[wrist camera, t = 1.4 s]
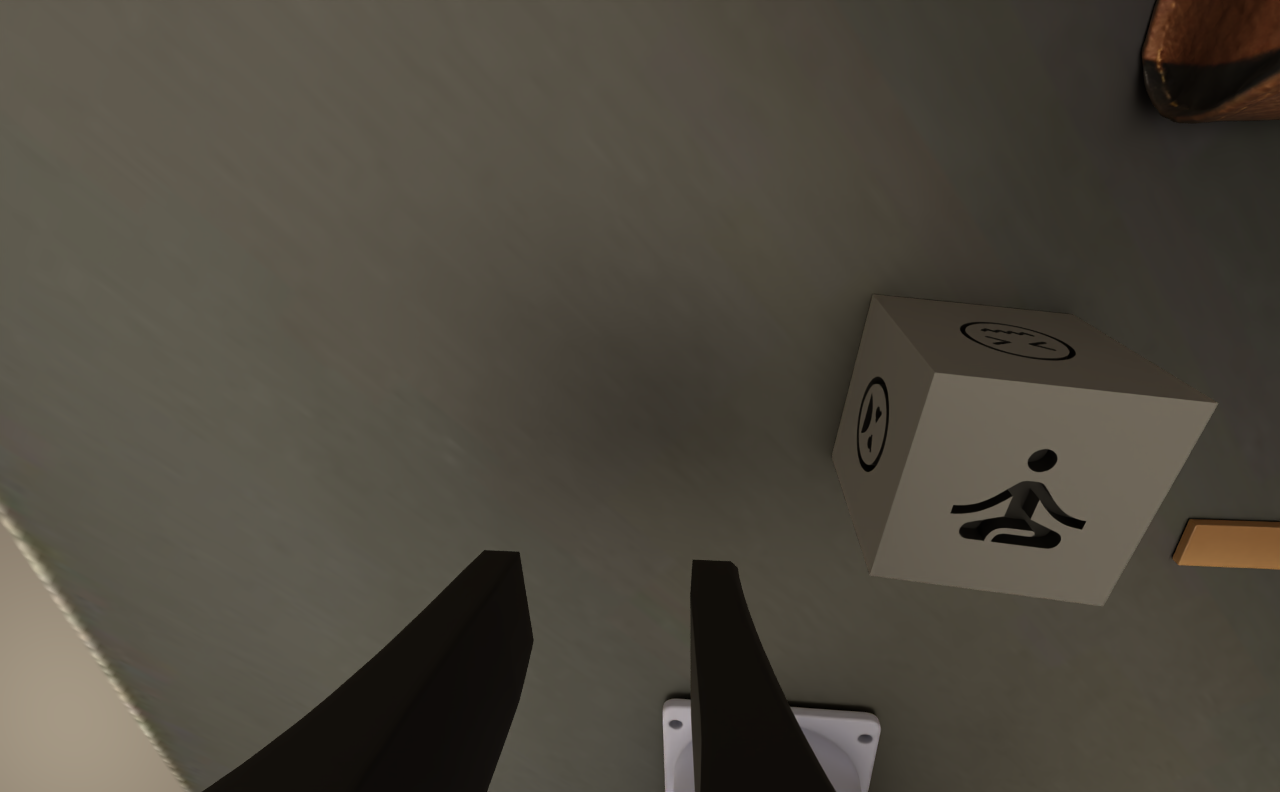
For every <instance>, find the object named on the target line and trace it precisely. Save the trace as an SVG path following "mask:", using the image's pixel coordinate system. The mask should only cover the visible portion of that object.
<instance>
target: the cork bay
mask: <svg viewBox="0 0 1280 792" xmlns="http://www.w3.org/2000/svg"><path fill="white" fill-rule="evenodd" d="M1172 559H1173V560H1174V561H1175V562H1176V563H1177V564H1178V565H1189V566H1213V567H1236V568H1260V569H1280V522H1263V521H1234V520H1204V519H1190V520H1189V522H1188V524H1187V526H1186V528H1185V531H1184V533H1183V535H1182V537H1181V540H1180V542H1179V544H1178V546H1177V549H1176V551H1175V553H1174V555H1173V558H1172Z"/></svg>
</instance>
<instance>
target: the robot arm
mask: <svg viewBox="0 0 1280 792" xmlns="http://www.w3.org/2000/svg"><path fill="white" fill-rule="evenodd" d="M690 609H691V700H690V699H670V700H667V701H666V702H665V703H664V706H663V740H664V770H665V792H868V789H869V785H870V780H871V775H872V770H873V765H874V760H875V756H876V751H877V746H878V741H879V736H880V732H881V727H880V723H879V719H878V718H877V717H876V716H875V715H873V714H872V713H868V712H856V711H843V710H829V709H815V708H801V707H790V706H789V704H788V702H787V700H786V698H785V695H784V693H783V691H782V689H781V687H780V685H779V683H778V681H777V678H776V676H775V674H774V672H773V669H772V667H771V665H770V662H769V660H768V658H767V656H766V653H765V651H764V649H763V647H762V644H761V642H760V639H759V637H758V634H757V632H756V629H755V626H754V623H753V621H752V618H751V615H750V612H749V610H748V607H747V604H746V600H745V597H744V594H743V590H742V587H741V582H740V578H739V573H738V568H737V567H736V566H735V565H734V564H733V563H732V562H731V561H710V560H693V564H692V577H691V593H690ZM533 641H534V640H533V633H532V627H531V621H530V615H529V609H528V602H527V596H526V590H525V584H524V578H523V571H522V565H521V559H520V553H519V552H512V551H490V550H484V551H483V552H482V553H481V554H480V555H479V556H478V557H477V558H476V559H475V560H474V561H473V562H472V563H470V564H469V565H468V566H467V567H466V568H465V569H464V570H463V571H462V572H461V573H460V574H459V575H458V576H457V577H456V578H455V579H454V580H453V581H452V582H451V583H450V584H449V585H448V586H447V587H446V588H445V589H444V590H443V591H442V592H441V593H440V594H439V595H438V596H437V597H436V598H435V599H434V600H433V601H432V602H431V603H430V604H429V605H428V606H427V607H426V608H425V609H424V610H423V611H422V612H421V613H420V614H419V615H418V616H417V617H416V618H415V619H414V620H413V621H412V622H410V623H409V624H408V625H407V626H406V627H405V628H404V629H403V630H402V631H401V632H400V633H399V634H398V635H397V636H396V637H395V638H394V639H393V640H392V641H390V642H389V643H388V644H387V645H386V646H385V647H384V648H383V649H382V650H381V651H380V652H379V653H378V654H376V655H375V656H374V657H373V658H372V659H371V660H370V661H369V662H367V663H366V664H365V665H364V666H363V667H362V668H361V669H359V670H358V671H357V672H356V673H355V674H354V675H353V676H352V677H350V678H349V679H348V680H347V681H346V682H345V683H344V684H342V685H341V686H340V687H339V688H338V689H337V690H336V691H334V692H333V693H332V694H331V695H330V696H329V697H327V698H326V699H325V700H324V701H323V702H321V703H320V704H319V705H318V706H317V707H315V708H314V709H313V710H312V711H311V712H309V713H308V714H307V715H306V716H304V717H303V718H302V719H301V720H299V721H298V722H297V723H296V724H294V725H293V726H292V727H291V728H289V729H288V730H287V731H285V732H284V733H283V734H281V735H280V736H279V737H277V738H276V739H275V740H273V741H272V742H271V743H270V744H268V745H267V746H266V747H264V748H263V749H262V750H260V751H259V752H258V753H256V754H255V755H254V756H252V757H251V758H250V759H248V760H247V761H246V762H244V763H243V764H241V765H240V766H239V767H237V768H236V769H234V770H233V771H231V772H230V773H229V774H227V775H226V776H224V777H223V778H221V779H220V780H218V781H217V782H215V783H214V784H213V785H211V786H210V787H208V788H207V789H205V790H204V791H202V792H487V790H488V787H489V784H490V782H491V779H492V776H493V773H494V771H495V768H496V765H497V762H498V760H499V757H500V754H501V751H502V749H503V746H504V743H505V740H506V737H507V735H508V732H509V729H510V726H511V723H512V721H513V718H514V715H515V712H516V709H517V706H518V703H519V700H520V696H521V692H522V688H523V684H524V680H525V676H526V672H527V667H528V663H529V659H530V654H531V650H532V645H533Z"/></svg>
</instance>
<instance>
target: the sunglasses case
mask: <svg viewBox="0 0 1280 792" xmlns="http://www.w3.org/2000/svg"><path fill="white" fill-rule="evenodd" d="M1142 61H1143V72H1144V84H1145V88H1146V90H1147V93H1148V95H1149V97H1150V99H1151V102H1152V104H1153V105H1154V106H1155V108H1156V109H1157V110H1158V111H1159V113H1160V115H1161V116H1163V117H1165V118H1168V119H1170V120H1171V121H1173V122H1177V123H1203V122H1214V121H1255V120H1280V0H1157V1H1156V4H1155V7H1154V10H1153V14H1152V18H1151V22H1150V25H1149V29H1148V33H1147V36H1146V39H1145V42H1144V45H1143V48H1142Z"/></svg>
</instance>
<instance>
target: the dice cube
mask: <svg viewBox="0 0 1280 792" xmlns="http://www.w3.org/2000/svg"><path fill="white" fill-rule="evenodd" d="M1217 405H1218V403H1217V402H1215V401H1214V400H1212V399H1210V398H1209V397H1207V396H1205V395H1204V394H1202V393H1201V392H1199V391H1197V390H1196V389H1194V388H1192V387H1191V386H1189V385H1187V384H1186V383H1184V382H1183V381H1181V380H1179V379H1178V378H1176V377H1174V376H1173V375H1171V374H1169V373H1168V372H1166V371H1165V370H1163V369H1161V368H1160V367H1158V366H1156V365H1155V364H1153V363H1151V362H1150V361H1148V360H1147V359H1145V358H1143V357H1142V356H1140V355H1138V354H1137V353H1135V352H1133V351H1132V350H1130V349H1129V348H1127V347H1125V346H1124V345H1122V344H1120V343H1119V342H1117V341H1115V340H1114V339H1112V338H1111V337H1109V336H1107V335H1106V334H1104V333H1102V332H1101V331H1099V330H1097V329H1096V328H1094V327H1093V326H1091V325H1089V324H1088V323H1086V322H1084V321H1083V320H1081V319H1079V318H1078V317H1076V316H1075V315H1073V314H1064V313H1054V312H1044V311H1034V310H1025V309H1015V308H1005V307H995V306H985V305H975V304H965V303H955V302H945V301H935V300H925V299H915V298H906V297H896V296H886V295H876V294H873V295H872V299H871V303H870V307H869V311H868V315H867V319H866V323H865V326H864V330H863V334H862V338H861V342H860V346H859V350H858V354H857V358H856V362H855V366H854V370H853V374H852V378H851V382H850V386H849V390H848V393H847V397H846V401H845V405H844V409H843V413H842V417H841V421H840V425H839V429H838V433H837V437H836V441H835V445H834V449H833V453H832V456H831V457H832V460H833V463H834V466H835V469H836V472H837V476H838V479H839V482H840V485H841V488H842V491H843V494H844V497H845V500H846V504H847V507H848V510H849V513H850V516H851V519H852V522H853V525H854V528H855V531H856V535H857V538H858V541H859V544H860V547H861V550H862V553H863V556H864V559H865V563H866V566H867V569H868V572H869V575H870V576H877V577H884V578H892V579H900V580H907V581H915V582H922V583H930V584H938V585H945V586H953V587H960V588H968V589H976V590H983V591H991V592H998V593H1006V594H1014V595H1021V596H1029V597H1036V598H1044V599H1052V600H1059V601H1067V602H1074V603H1082V604H1090V605H1097V606H1103V605H1104V604H1105V602H1106V600H1107V598H1108V597H1109V595H1110V593H1111V591H1112V590H1113V588H1114V586H1115V584H1116V582H1117V581H1118V579H1119V577H1120V575H1121V574H1122V572H1123V570H1124V568H1125V567H1126V565H1127V563H1128V561H1129V560H1130V558H1131V556H1132V554H1133V553H1134V551H1135V549H1136V547H1137V546H1138V544H1139V542H1140V540H1141V538H1142V537H1143V535H1144V533H1145V531H1146V530H1147V528H1148V526H1149V524H1150V523H1151V521H1152V519H1153V517H1154V516H1155V514H1156V512H1157V510H1158V509H1159V507H1160V505H1161V503H1162V502H1163V500H1164V498H1165V496H1166V494H1167V493H1168V491H1169V489H1170V487H1171V486H1172V484H1173V482H1174V480H1175V479H1176V477H1177V475H1178V473H1179V472H1180V470H1181V468H1182V466H1183V465H1184V463H1185V461H1186V459H1187V458H1188V456H1189V454H1190V452H1191V451H1192V449H1193V447H1194V445H1195V443H1196V442H1197V440H1198V438H1199V436H1200V435H1201V433H1202V431H1203V429H1204V428H1205V426H1206V424H1207V422H1208V421H1209V419H1210V417H1211V415H1212V414H1213V412H1214V410H1215V408H1216V407H1217Z"/></svg>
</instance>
